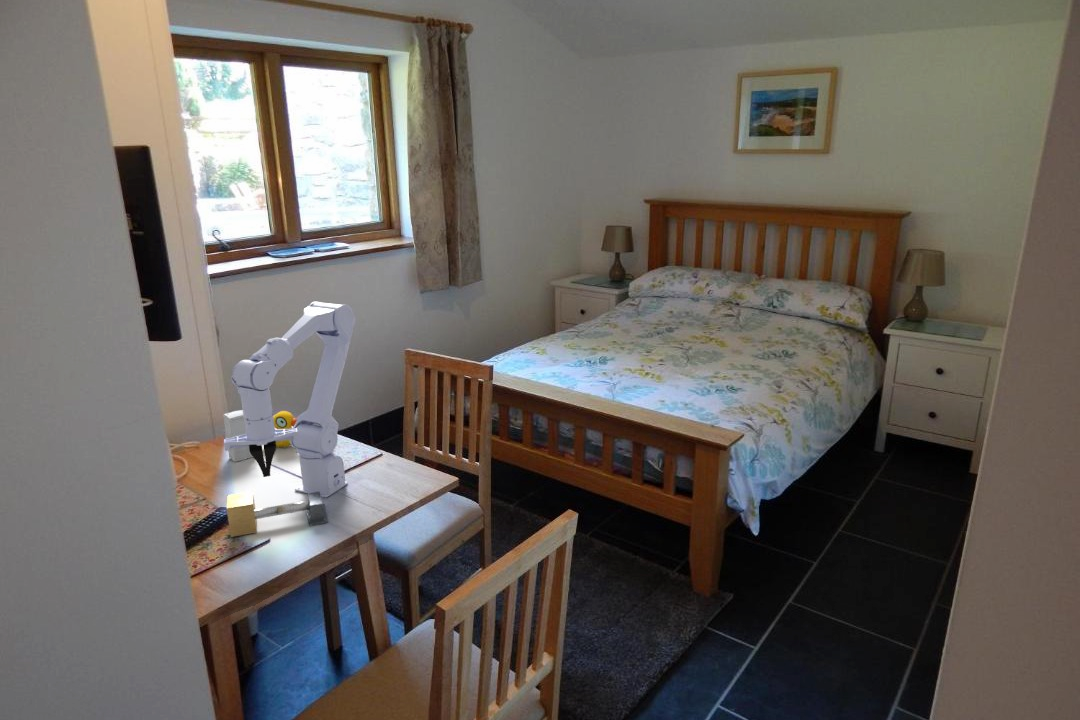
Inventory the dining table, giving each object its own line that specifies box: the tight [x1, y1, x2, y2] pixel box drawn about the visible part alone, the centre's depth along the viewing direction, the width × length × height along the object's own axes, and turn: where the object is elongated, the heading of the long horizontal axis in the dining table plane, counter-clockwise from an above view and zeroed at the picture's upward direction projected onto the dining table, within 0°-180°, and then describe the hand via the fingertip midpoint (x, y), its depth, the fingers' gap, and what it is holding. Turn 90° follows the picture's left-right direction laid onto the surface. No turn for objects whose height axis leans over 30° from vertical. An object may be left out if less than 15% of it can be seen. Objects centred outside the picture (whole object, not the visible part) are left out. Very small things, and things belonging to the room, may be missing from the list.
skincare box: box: [222, 409, 254, 463], centre depth 184 cm, size 6×4×12 cm
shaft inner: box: [276, 498, 323, 516], centre depth 153 cm, size 9×2×2 cm, turn 111°
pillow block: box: [306, 491, 329, 527], centre depth 155 cm, size 4×8×4 cm, turn 21°
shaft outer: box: [254, 505, 279, 520], centre depth 150 cm, size 9×2×2 cm, turn 111°
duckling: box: [273, 410, 297, 449], centre depth 190 cm, size 11×5×10 cm, turn 85°
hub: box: [226, 490, 258, 538], centre depth 149 cm, size 5×6×7 cm
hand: (266, 474), depth 153 cm, fingers closed
